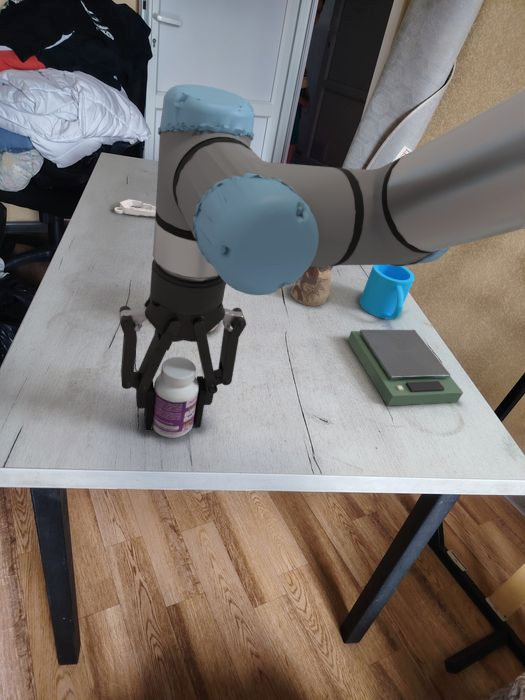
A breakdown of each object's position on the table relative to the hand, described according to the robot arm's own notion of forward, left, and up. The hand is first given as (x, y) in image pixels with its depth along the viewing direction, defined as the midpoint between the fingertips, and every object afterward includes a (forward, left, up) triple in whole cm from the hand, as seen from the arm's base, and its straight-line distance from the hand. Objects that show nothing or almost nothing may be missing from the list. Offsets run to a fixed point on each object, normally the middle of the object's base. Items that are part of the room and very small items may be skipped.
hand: (172, 420), depth 62 cm
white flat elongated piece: (+64, -1, -1) cm, 64 cm away
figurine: (+31, -30, -1) cm, 43 cm away
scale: (+9, -39, 0) cm, 40 cm away
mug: (+26, -44, -1) cm, 51 cm away
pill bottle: (0, 0, -1) cm, 1 cm away
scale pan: (+10, -39, +2) cm, 40 cm away
